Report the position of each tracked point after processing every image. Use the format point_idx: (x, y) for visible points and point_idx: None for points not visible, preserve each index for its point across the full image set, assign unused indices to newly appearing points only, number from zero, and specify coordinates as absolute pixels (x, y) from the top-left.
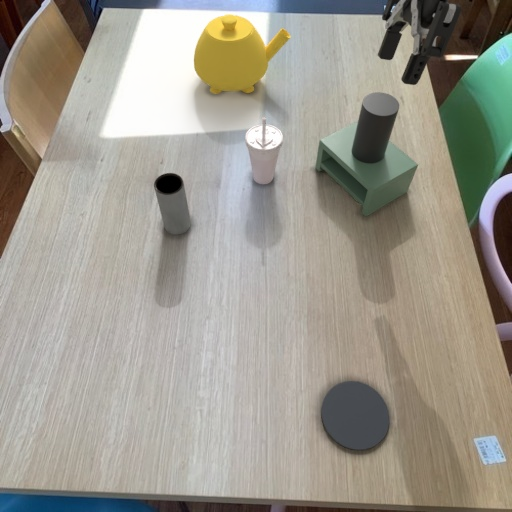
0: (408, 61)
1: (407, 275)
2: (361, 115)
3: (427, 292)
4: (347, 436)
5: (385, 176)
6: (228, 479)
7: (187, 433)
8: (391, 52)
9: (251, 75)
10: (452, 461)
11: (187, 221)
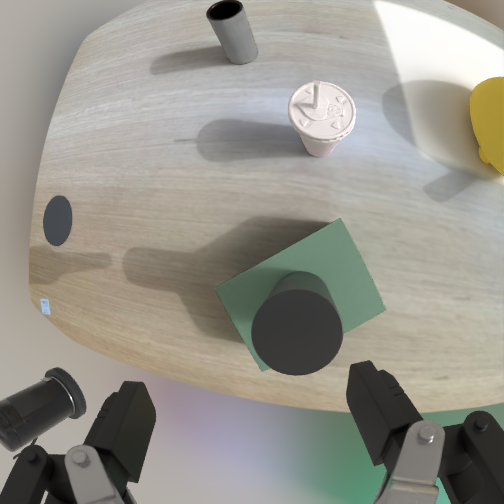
0: (120, 426)
1: (149, 304)
2: (294, 284)
3: (132, 317)
4: (48, 212)
5: (239, 314)
6: (49, 139)
7: (71, 108)
8: (354, 407)
9: (490, 144)
10: (40, 280)
11: (230, 55)
